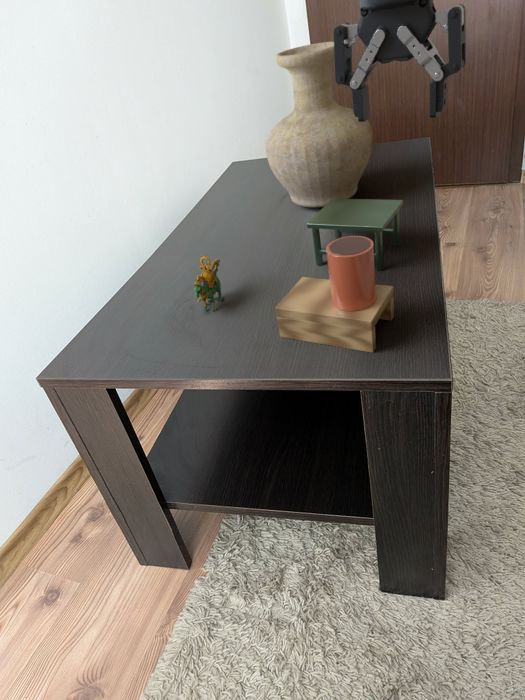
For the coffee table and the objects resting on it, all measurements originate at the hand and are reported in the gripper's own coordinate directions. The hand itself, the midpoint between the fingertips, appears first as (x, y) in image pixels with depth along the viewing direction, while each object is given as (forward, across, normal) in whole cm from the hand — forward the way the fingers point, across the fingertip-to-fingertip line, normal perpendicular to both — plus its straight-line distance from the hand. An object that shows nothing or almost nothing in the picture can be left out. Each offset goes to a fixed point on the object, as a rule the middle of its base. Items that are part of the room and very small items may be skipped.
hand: (398, 118), depth 61 cm
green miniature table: (+26, -12, +14) cm, 32 cm away
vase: (+26, -29, +38) cm, 54 cm away
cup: (+21, -4, -8) cm, 23 cm away
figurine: (+26, -30, -6) cm, 40 cm away
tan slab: (+26, -7, -8) cm, 28 cm away
